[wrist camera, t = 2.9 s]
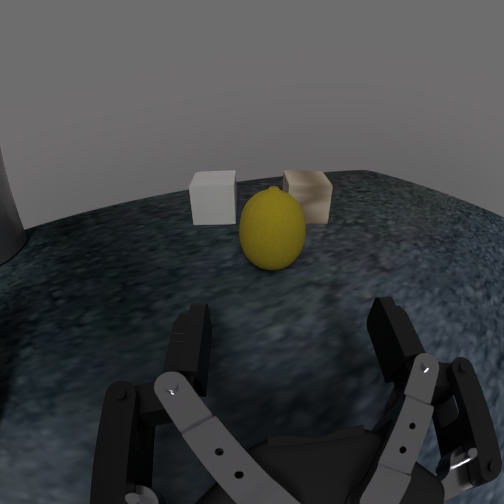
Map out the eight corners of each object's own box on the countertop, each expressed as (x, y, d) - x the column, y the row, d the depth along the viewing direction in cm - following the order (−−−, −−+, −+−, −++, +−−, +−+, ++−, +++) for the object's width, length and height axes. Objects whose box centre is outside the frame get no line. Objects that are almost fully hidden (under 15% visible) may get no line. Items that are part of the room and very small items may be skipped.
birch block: (286, 224, 32) (289, 184, 30) (282, 205, 36) (283, 170, 34) (327, 223, 32) (332, 185, 30) (318, 205, 37) (321, 171, 34)
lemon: (268, 245, 29) (270, 171, 24) (312, 268, 25) (323, 188, 21) (228, 269, 25) (222, 187, 21) (273, 299, 22) (278, 209, 18)
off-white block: (193, 225, 32) (188, 186, 29) (199, 207, 36) (196, 172, 33) (235, 224, 32) (233, 184, 29) (237, 205, 36) (235, 170, 34)
